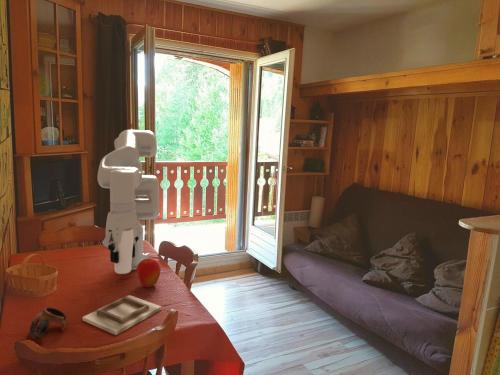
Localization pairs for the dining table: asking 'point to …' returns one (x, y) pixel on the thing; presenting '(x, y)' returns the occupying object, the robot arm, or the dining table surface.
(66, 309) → the dining table surface
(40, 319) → the pottery mug
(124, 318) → the locating board
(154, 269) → the apple
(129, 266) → the drinking glass
